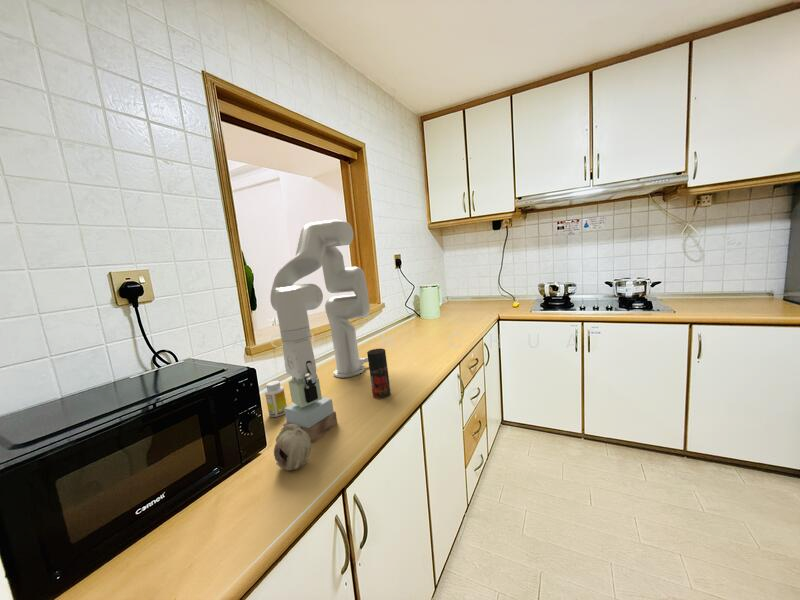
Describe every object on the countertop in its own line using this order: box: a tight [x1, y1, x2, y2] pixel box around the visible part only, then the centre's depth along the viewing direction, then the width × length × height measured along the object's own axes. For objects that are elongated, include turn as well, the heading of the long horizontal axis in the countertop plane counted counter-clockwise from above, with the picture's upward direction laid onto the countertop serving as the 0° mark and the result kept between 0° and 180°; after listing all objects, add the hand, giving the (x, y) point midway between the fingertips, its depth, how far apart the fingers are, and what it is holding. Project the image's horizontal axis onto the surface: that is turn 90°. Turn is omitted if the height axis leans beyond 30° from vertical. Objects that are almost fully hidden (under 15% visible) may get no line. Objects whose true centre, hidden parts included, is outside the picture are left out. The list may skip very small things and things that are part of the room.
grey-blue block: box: [284, 396, 335, 428], centre depth 90 cm, size 9×9×4 cm
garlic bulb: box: [273, 424, 312, 472], centre depth 75 cm, size 9×8×10 cm
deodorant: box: [366, 348, 392, 400], centre depth 107 cm, size 6×6×15 cm
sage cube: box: [288, 373, 323, 408], centre depth 89 cm, size 6×6×6 cm
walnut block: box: [282, 410, 338, 444], centre depth 90 cm, size 10×10×4 cm
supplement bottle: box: [264, 380, 288, 418], centre depth 103 cm, size 6×6×10 cm
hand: (306, 397), depth 89 cm, fingers closed on sage cube, 6 cm apart
